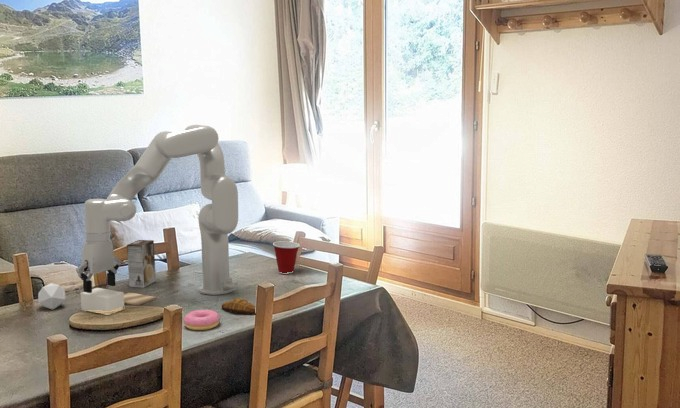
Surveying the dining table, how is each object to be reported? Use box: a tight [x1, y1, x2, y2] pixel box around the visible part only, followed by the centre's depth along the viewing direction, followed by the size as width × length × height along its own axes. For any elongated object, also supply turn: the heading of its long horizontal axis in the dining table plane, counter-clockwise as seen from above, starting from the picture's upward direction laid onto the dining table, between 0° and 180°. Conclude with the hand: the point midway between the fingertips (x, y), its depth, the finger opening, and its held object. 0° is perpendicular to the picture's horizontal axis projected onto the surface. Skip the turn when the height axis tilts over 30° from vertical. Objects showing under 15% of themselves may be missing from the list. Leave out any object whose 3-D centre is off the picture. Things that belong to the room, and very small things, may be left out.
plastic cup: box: [272, 240, 301, 273], centre depth 264 cm, size 11×11×12 cm
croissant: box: [221, 297, 256, 315], centre depth 215 cm, size 14×7×5 cm, turn 64°
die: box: [37, 282, 66, 311], centre depth 220 cm, size 8×9×10 cm
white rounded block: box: [80, 287, 125, 312], centre depth 217 cm, size 12×7×6 cm, turn 62°
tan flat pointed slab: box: [124, 292, 158, 306], centre depth 229 cm, size 13×9×1 cm
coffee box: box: [126, 239, 157, 289], centre depth 247 cm, size 9×6×16 cm
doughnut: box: [183, 309, 221, 331], centre depth 202 cm, size 11×11×4 cm
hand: (99, 288), depth 216 cm, fingers open, 9 cm apart
